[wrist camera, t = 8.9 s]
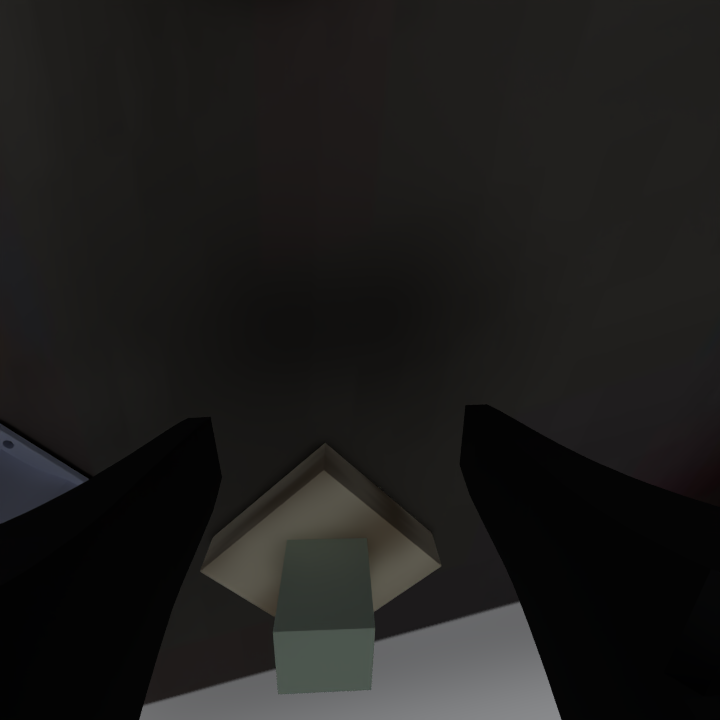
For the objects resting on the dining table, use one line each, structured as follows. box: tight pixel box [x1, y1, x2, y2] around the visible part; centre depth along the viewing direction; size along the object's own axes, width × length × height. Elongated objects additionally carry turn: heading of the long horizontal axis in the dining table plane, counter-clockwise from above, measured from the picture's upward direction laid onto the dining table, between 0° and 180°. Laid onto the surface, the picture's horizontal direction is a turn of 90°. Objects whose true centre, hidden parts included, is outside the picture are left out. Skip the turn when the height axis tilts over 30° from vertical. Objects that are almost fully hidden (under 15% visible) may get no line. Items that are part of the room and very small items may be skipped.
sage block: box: [273, 538, 375, 694], centre depth 20 cm, size 4×4×5 cm
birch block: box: [200, 443, 441, 617], centre depth 24 cm, size 10×10×3 cm
